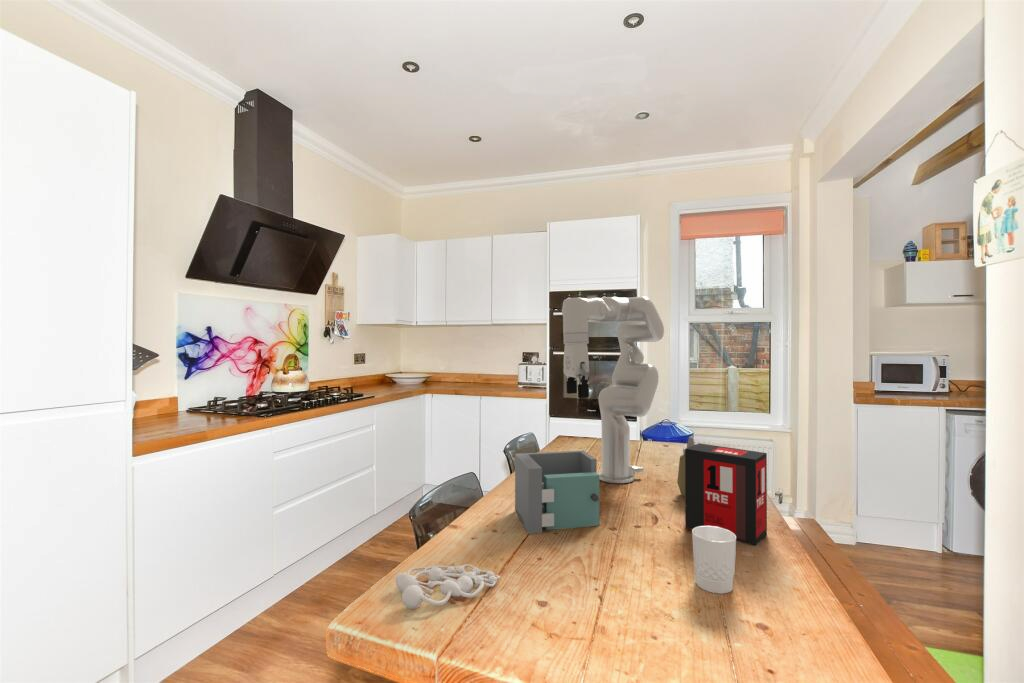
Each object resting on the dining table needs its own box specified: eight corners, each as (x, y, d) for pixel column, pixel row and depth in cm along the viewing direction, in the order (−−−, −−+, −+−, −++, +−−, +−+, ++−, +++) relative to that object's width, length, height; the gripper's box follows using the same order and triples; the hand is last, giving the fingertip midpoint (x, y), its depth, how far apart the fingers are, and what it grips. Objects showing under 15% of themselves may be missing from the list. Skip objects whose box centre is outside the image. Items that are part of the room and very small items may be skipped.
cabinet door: (595, 521, 125) (595, 472, 125) (601, 527, 121) (601, 476, 121) (543, 525, 122) (543, 474, 122) (548, 531, 118) (547, 479, 118)
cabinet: (583, 506, 136) (583, 450, 136) (605, 527, 120) (605, 464, 120) (515, 511, 132) (515, 453, 132) (528, 534, 116) (528, 468, 116)
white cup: (733, 600, 87) (733, 545, 87) (688, 588, 91) (688, 536, 91) (738, 581, 93) (738, 530, 93) (696, 571, 97) (696, 522, 97)
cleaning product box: (685, 527, 121) (685, 448, 121) (699, 517, 127) (699, 443, 127) (755, 546, 109) (755, 459, 109) (766, 534, 116) (766, 453, 116)
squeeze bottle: (676, 498, 143) (676, 438, 143) (678, 490, 150) (677, 433, 150) (705, 501, 140) (705, 440, 140) (705, 493, 147) (705, 435, 147)
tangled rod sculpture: (484, 570, 101) (484, 550, 102) (510, 597, 88) (510, 574, 88) (391, 585, 94) (392, 563, 94) (404, 618, 81) (405, 592, 81)
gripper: (555, 338, 151) (556, 392, 151) (574, 340, 134) (575, 400, 134) (577, 338, 152) (578, 391, 153) (599, 339, 136) (600, 398, 136)
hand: (577, 395), depth 144 cm, fingers open, 9 cm apart
